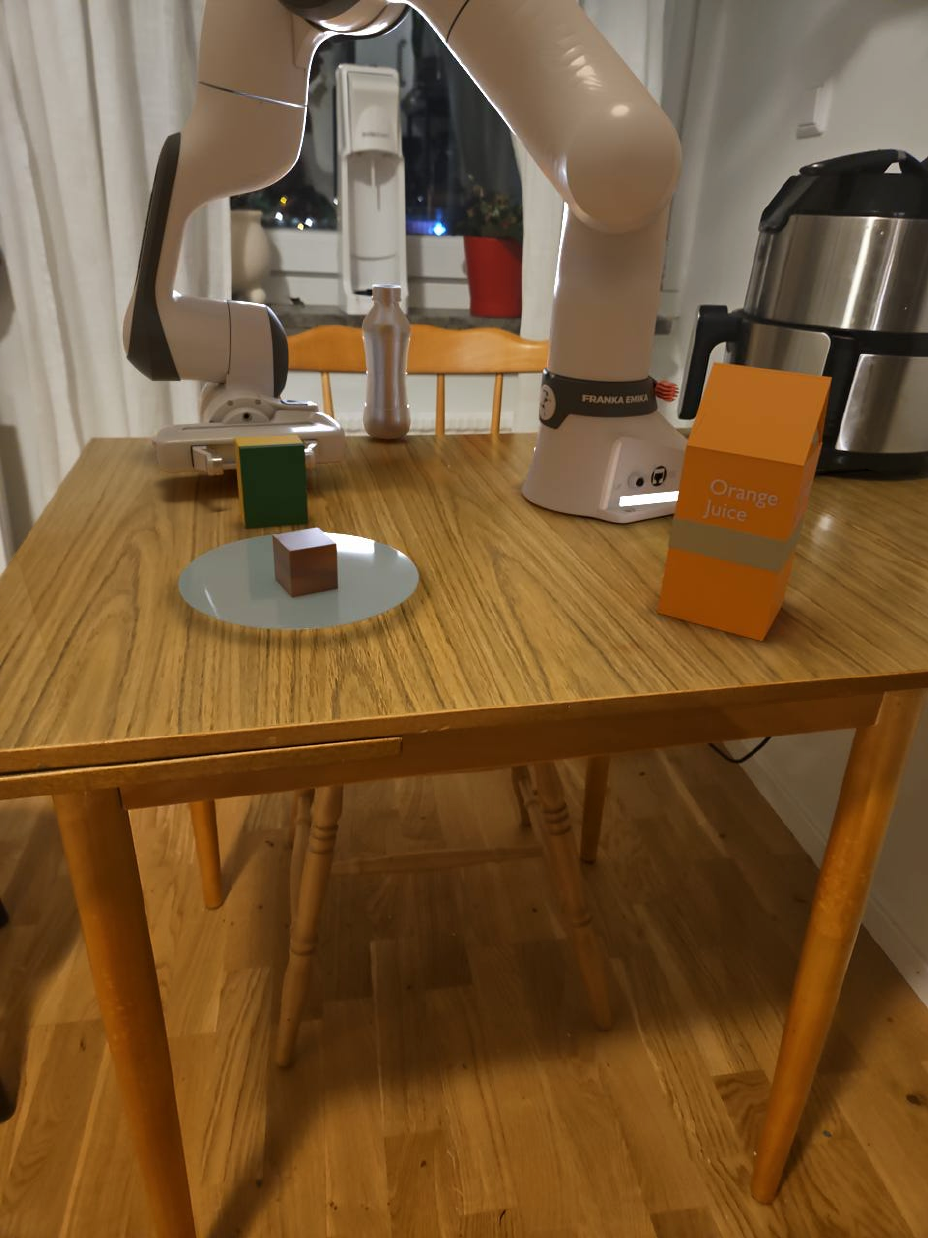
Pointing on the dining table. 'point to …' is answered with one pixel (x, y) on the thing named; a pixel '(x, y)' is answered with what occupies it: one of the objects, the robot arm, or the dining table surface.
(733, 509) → the orange juice
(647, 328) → the robot arm
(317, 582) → the brown cube
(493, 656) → the dining table surface
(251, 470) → the sponge
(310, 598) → the plate
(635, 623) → the dining table surface
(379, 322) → the plastic bottle
